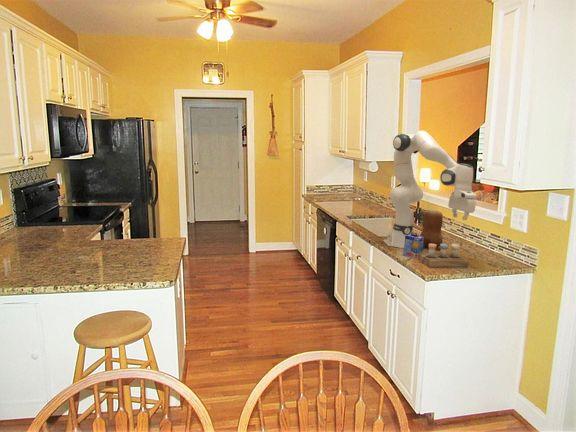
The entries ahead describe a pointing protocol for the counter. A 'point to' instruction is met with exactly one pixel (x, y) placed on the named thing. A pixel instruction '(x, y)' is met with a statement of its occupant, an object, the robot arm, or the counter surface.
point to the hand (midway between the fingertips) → (459, 218)
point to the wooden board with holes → (442, 261)
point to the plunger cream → (454, 250)
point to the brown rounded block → (432, 228)
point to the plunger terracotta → (432, 250)
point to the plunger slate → (443, 250)
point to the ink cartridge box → (413, 245)
